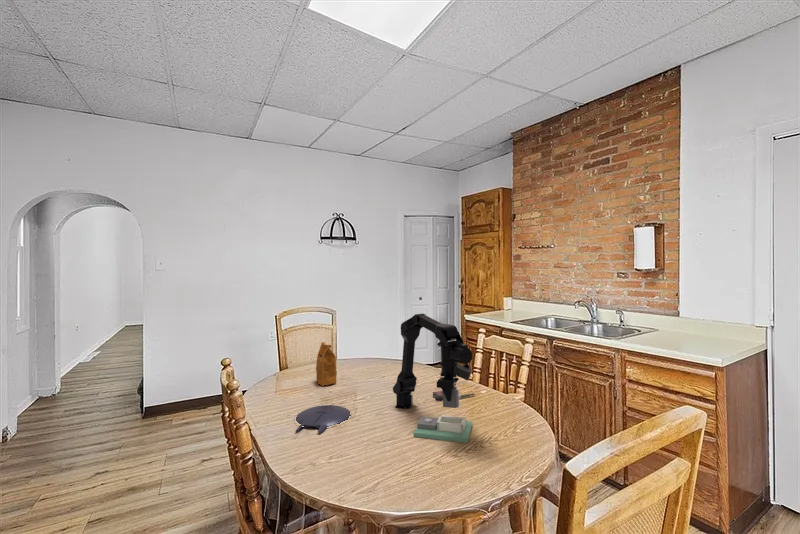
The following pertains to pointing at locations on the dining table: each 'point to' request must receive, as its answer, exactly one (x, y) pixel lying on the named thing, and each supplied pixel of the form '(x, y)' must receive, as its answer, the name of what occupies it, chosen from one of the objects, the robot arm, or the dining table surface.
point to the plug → (454, 399)
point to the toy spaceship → (322, 416)
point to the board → (444, 428)
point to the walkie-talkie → (440, 396)
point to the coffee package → (326, 366)
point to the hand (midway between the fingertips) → (449, 399)
